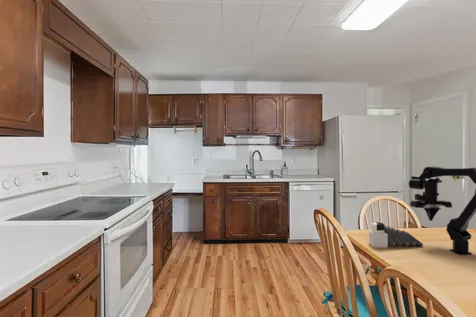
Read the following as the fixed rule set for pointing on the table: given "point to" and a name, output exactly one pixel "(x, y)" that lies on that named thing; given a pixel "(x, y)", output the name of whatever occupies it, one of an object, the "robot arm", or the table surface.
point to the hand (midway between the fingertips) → (430, 220)
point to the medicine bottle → (378, 236)
